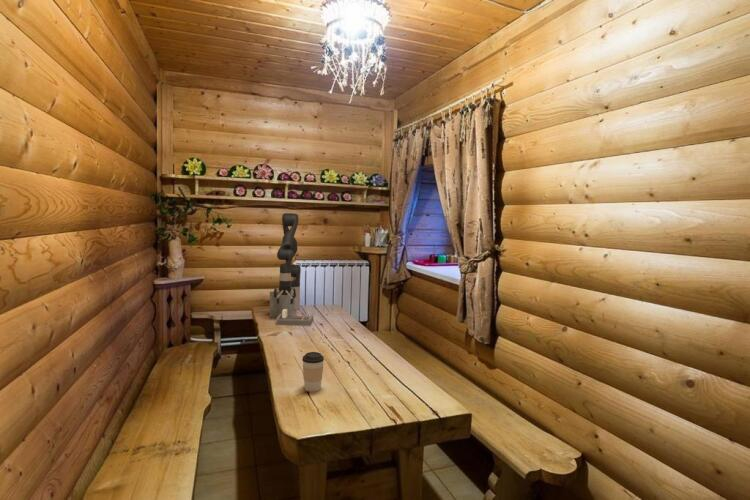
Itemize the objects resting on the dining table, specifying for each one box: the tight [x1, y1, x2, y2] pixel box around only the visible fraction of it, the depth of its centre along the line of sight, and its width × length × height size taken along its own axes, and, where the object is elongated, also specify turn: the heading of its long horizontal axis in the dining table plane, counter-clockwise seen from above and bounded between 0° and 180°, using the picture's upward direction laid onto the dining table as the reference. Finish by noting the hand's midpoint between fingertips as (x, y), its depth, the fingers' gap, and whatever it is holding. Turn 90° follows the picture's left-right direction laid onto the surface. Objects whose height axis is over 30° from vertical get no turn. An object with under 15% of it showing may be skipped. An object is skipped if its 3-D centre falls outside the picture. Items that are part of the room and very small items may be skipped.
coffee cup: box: [301, 351, 325, 393], centre depth 174 cm, size 9×9×15 cm
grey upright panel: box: [269, 290, 294, 318], centre depth 290 cm, size 16×4×20 cm, turn 109°
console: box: [276, 313, 314, 327], centre depth 275 cm, size 12×22×4 cm, turn 90°
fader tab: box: [282, 309, 287, 318], centre depth 274 cm, size 5×2×5 cm, turn 0°
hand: (284, 303), depth 273 cm, fingers open, 8 cm apart
